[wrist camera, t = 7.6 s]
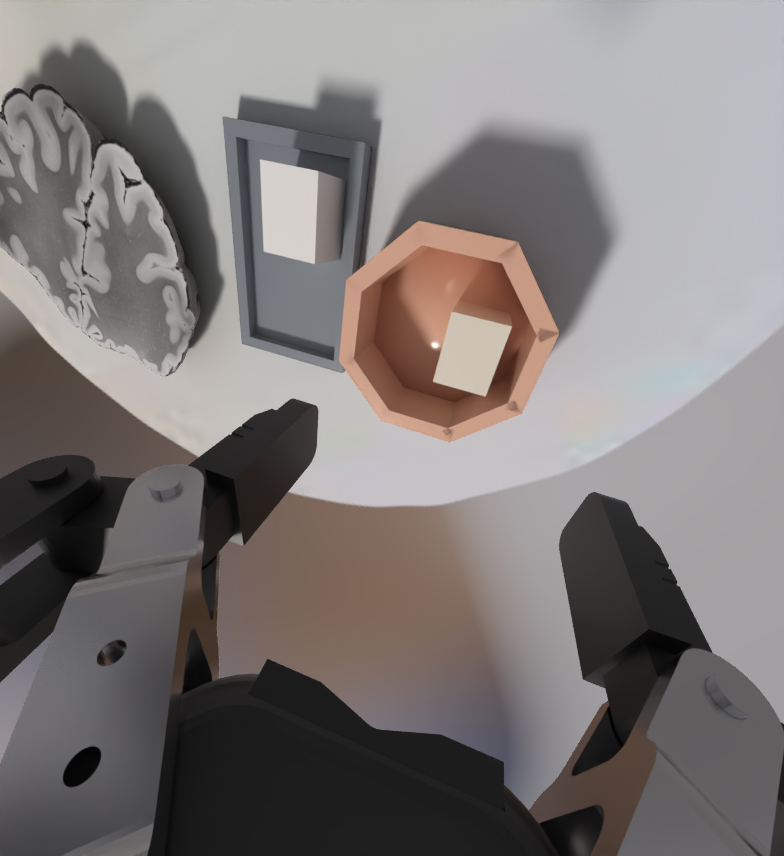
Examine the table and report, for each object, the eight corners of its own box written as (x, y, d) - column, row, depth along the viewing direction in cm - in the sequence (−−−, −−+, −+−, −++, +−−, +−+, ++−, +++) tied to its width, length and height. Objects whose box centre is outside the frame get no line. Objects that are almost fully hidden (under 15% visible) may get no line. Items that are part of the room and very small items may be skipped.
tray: (236, 122, 20) (222, 116, 19) (371, 147, 19) (364, 142, 18) (251, 339, 28) (242, 343, 27) (348, 367, 27) (342, 373, 26)
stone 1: (295, 169, 20) (259, 159, 17) (345, 180, 20) (318, 170, 17) (294, 249, 23) (263, 251, 20) (339, 259, 22) (314, 263, 19)
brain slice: (254, 234, 24) (226, 234, 21) (194, 387, 33) (170, 400, 31) (9, 17, 21) (-56, -11, 19) (20, 250, 30) (-23, 252, 28)
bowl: (380, 211, 20) (352, 206, 17) (575, 253, 19) (594, 258, 15) (358, 382, 27) (334, 406, 23) (501, 424, 25) (501, 458, 22)
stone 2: (458, 300, 21) (451, 311, 18) (510, 313, 21) (512, 326, 18) (441, 363, 24) (432, 381, 21) (487, 375, 23) (485, 396, 20)
